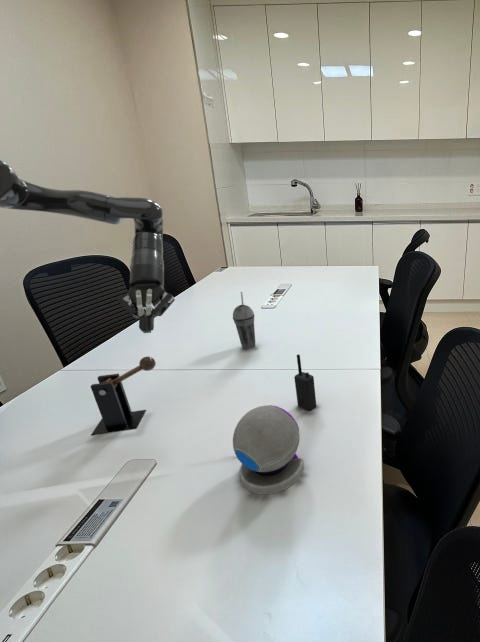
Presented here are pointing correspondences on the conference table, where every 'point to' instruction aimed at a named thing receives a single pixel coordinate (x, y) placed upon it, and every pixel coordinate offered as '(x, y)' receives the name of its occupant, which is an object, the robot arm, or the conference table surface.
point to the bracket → (114, 407)
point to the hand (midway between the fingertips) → (146, 331)
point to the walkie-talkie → (305, 389)
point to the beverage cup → (245, 325)
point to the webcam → (267, 449)
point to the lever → (135, 370)
